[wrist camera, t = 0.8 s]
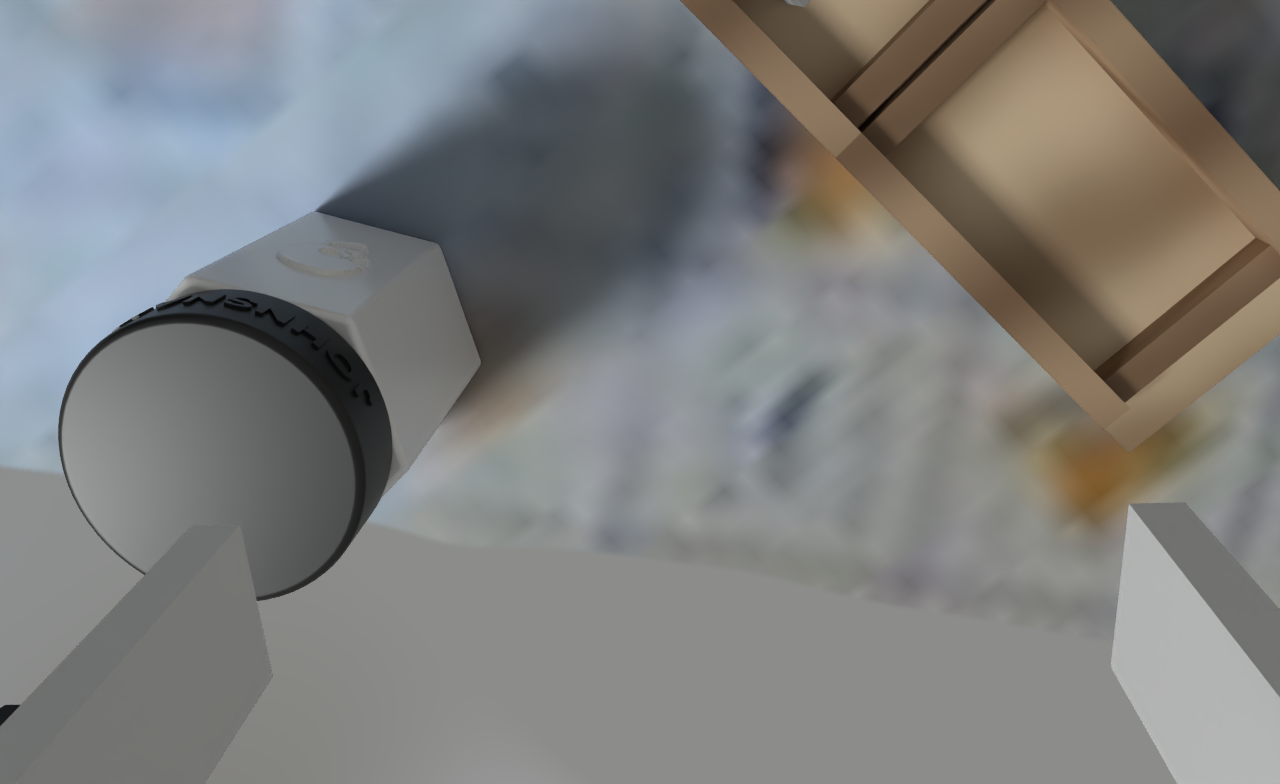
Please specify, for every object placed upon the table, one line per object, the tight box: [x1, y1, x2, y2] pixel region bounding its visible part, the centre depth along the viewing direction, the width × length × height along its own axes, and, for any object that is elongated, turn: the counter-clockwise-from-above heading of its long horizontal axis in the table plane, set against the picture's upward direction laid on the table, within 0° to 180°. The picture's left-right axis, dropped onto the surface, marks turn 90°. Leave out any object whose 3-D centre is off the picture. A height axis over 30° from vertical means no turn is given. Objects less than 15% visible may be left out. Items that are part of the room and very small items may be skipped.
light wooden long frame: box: [680, 0, 1280, 452], centre depth 28 cm, size 28×8×12 cm, turn 47°
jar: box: [58, 212, 481, 601], centre depth 33 cm, size 9×8×12 cm
